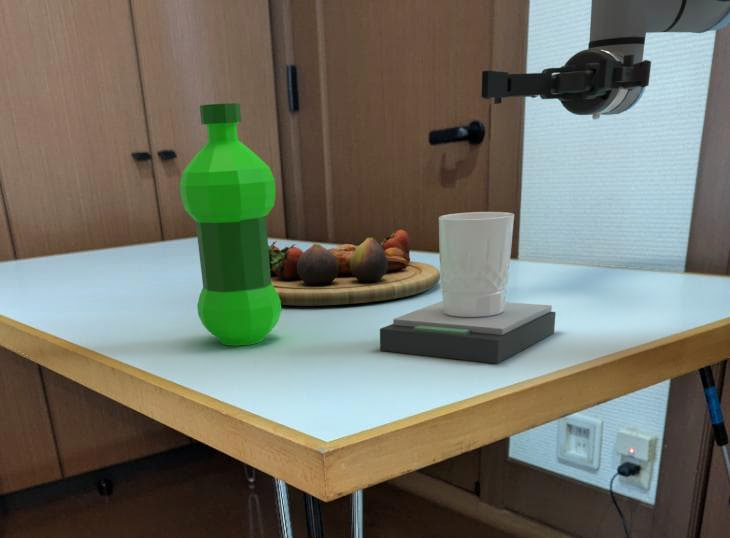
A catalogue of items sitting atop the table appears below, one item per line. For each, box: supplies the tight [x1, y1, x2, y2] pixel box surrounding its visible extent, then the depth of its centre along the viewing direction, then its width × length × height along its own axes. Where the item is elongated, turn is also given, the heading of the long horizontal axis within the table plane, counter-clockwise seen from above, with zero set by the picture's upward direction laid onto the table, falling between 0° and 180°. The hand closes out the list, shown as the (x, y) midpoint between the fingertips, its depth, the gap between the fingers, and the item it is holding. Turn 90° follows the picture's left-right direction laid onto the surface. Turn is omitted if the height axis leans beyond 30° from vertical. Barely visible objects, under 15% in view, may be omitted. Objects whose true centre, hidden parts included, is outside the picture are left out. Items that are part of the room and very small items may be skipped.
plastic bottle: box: [179, 102, 282, 347], centre depth 91 cm, size 10×10×25 cm
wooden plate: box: [268, 229, 441, 307], centre depth 124 cm, size 32×32×8 cm
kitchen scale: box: [379, 300, 557, 365], centre depth 89 cm, size 14×15×3 cm
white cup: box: [438, 211, 515, 317], centre depth 87 cm, size 8×8×10 cm
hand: (541, 79), depth 91 cm, fingers open, 13 cm apart
